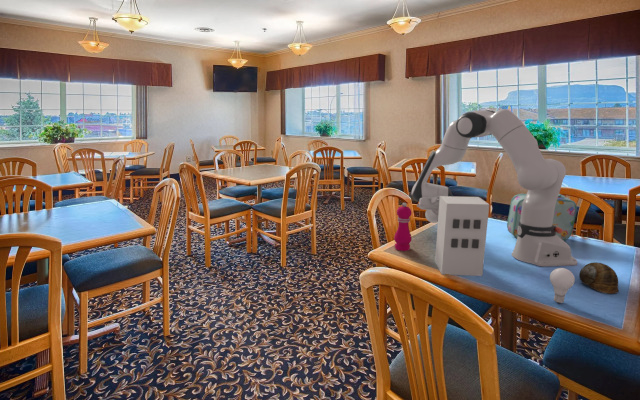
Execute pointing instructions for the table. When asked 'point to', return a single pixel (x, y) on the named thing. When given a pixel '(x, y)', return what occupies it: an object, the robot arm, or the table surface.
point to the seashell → (599, 277)
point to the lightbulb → (561, 283)
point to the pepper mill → (403, 229)
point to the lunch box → (561, 219)
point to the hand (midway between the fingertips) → (446, 198)
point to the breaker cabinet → (461, 235)
